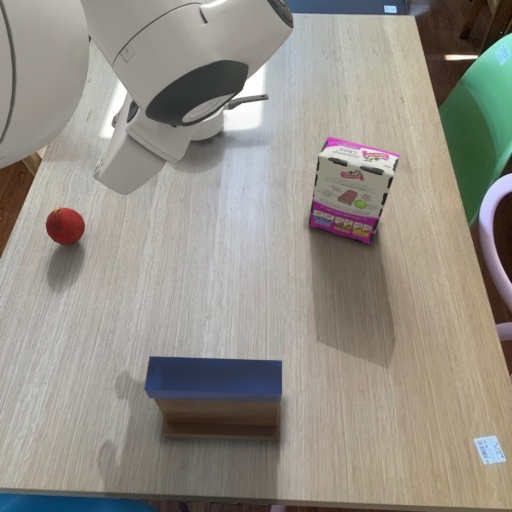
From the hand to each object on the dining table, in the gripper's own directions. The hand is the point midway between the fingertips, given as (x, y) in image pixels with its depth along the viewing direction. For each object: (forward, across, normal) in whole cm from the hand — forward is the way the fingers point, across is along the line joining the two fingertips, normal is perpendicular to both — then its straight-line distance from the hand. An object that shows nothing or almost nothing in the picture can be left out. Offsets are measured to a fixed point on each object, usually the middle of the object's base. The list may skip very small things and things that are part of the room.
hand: (108, 149), depth 62 cm
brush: (+3, +28, +27) cm, 39 cm away
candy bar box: (-9, -6, +39) cm, 40 cm away
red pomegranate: (+23, 0, +7) cm, 24 cm away
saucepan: (+8, -30, +22) cm, 38 cm away
